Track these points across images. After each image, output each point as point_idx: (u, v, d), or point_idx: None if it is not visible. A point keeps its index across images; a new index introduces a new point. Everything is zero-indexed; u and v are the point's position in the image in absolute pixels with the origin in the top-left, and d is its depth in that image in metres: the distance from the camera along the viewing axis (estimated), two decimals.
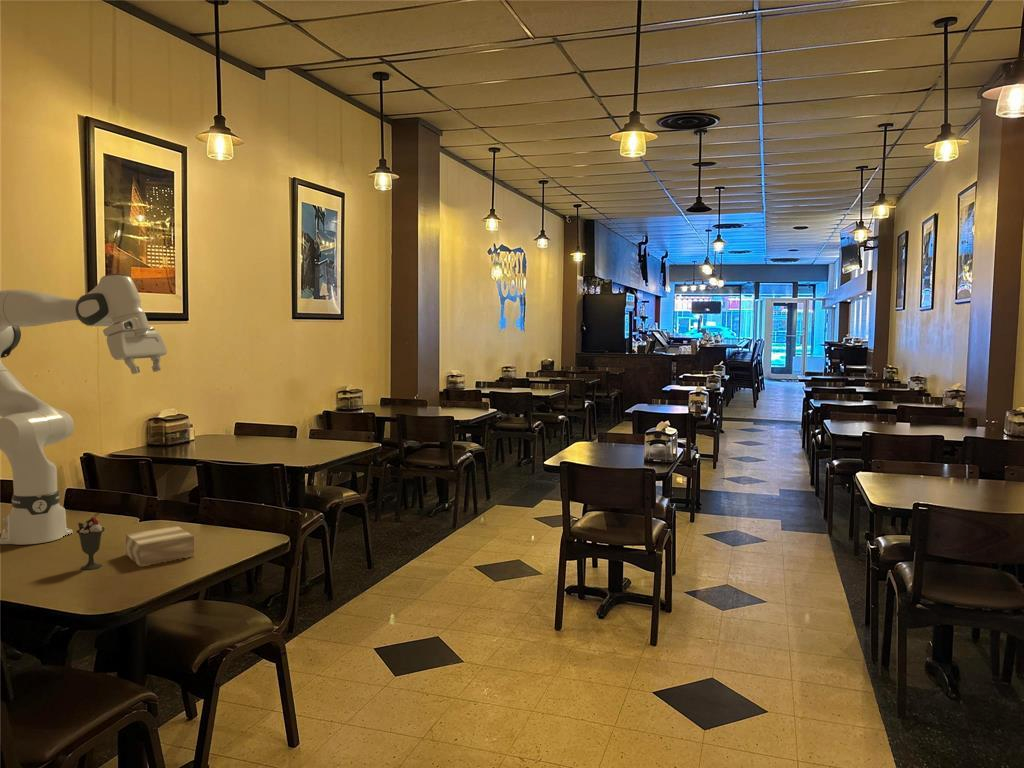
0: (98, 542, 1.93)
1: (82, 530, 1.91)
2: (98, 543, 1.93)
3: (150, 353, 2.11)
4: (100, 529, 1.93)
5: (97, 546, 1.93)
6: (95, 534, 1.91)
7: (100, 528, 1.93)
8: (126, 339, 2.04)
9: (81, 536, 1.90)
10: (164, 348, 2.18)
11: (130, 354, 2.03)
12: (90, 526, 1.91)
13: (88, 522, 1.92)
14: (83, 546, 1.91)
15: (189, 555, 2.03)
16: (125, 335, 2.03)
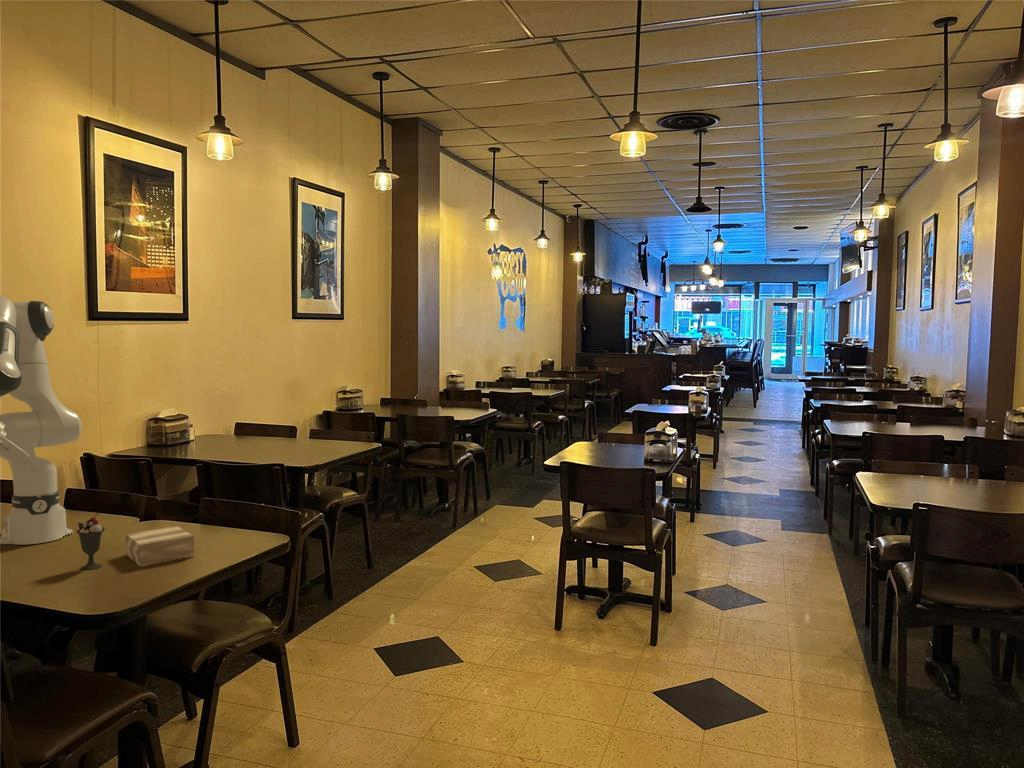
0: (98, 542, 1.93)
1: (82, 530, 1.91)
2: (98, 543, 1.93)
3: None
4: (100, 529, 1.93)
5: (97, 546, 1.93)
6: (95, 534, 1.91)
7: (100, 528, 1.93)
8: None
9: (81, 536, 1.90)
10: (11, 462, 1.74)
11: None
12: (90, 526, 1.91)
13: (88, 522, 1.92)
14: (83, 546, 1.91)
15: (189, 555, 2.03)
16: None
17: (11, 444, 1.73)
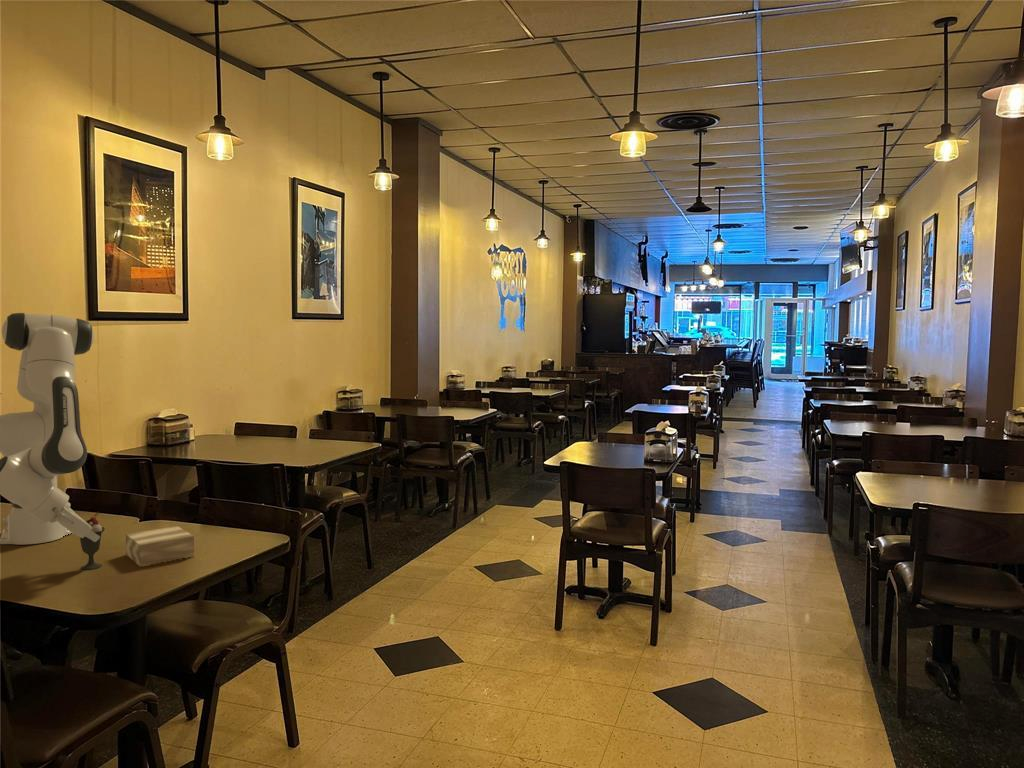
0: (98, 542, 1.93)
1: None
2: (98, 543, 1.93)
3: None
4: (100, 529, 1.93)
5: (97, 546, 1.93)
6: None
7: (100, 528, 1.93)
8: None
9: None
10: (75, 534, 1.83)
11: None
12: None
13: (88, 522, 1.92)
14: (83, 546, 1.91)
15: (189, 555, 2.03)
16: None
17: (76, 518, 1.82)
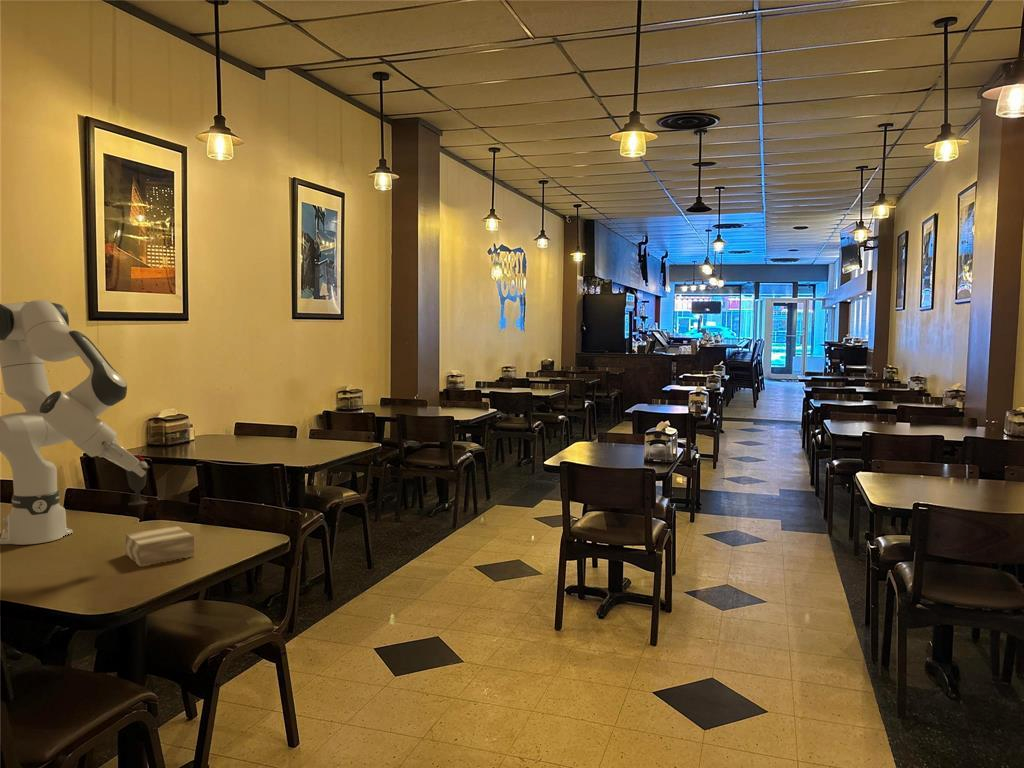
0: (144, 478, 1.98)
1: None
2: (144, 479, 1.98)
3: None
4: (146, 466, 1.99)
5: (143, 482, 1.98)
6: None
7: (146, 465, 1.99)
8: None
9: (128, 472, 1.96)
10: (124, 467, 1.89)
11: None
12: None
13: None
14: (130, 482, 1.97)
15: (189, 555, 2.03)
16: None
17: (124, 451, 1.88)
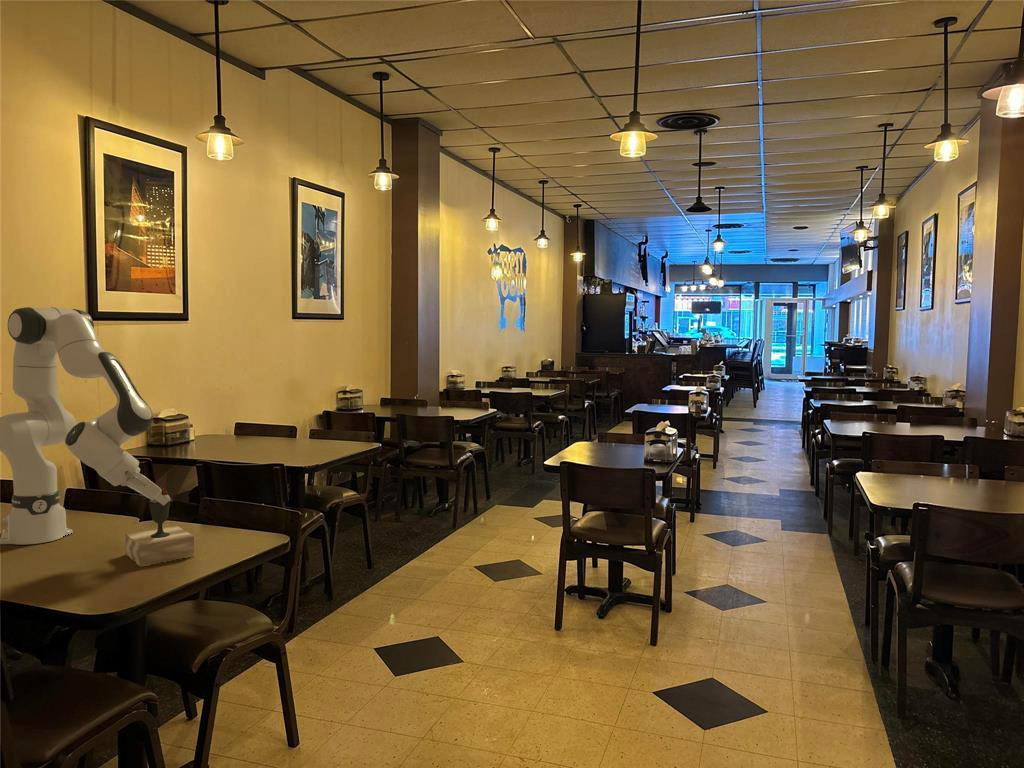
0: (167, 512, 2.02)
1: (152, 500, 2.01)
2: (167, 512, 2.03)
3: (143, 494, 1.99)
4: (169, 499, 2.02)
5: (166, 515, 2.02)
6: None
7: (169, 498, 2.02)
8: None
9: (151, 505, 2.00)
10: (147, 496, 1.93)
11: None
12: None
13: None
14: (153, 515, 2.01)
15: (189, 555, 2.03)
16: None
17: (147, 480, 1.92)
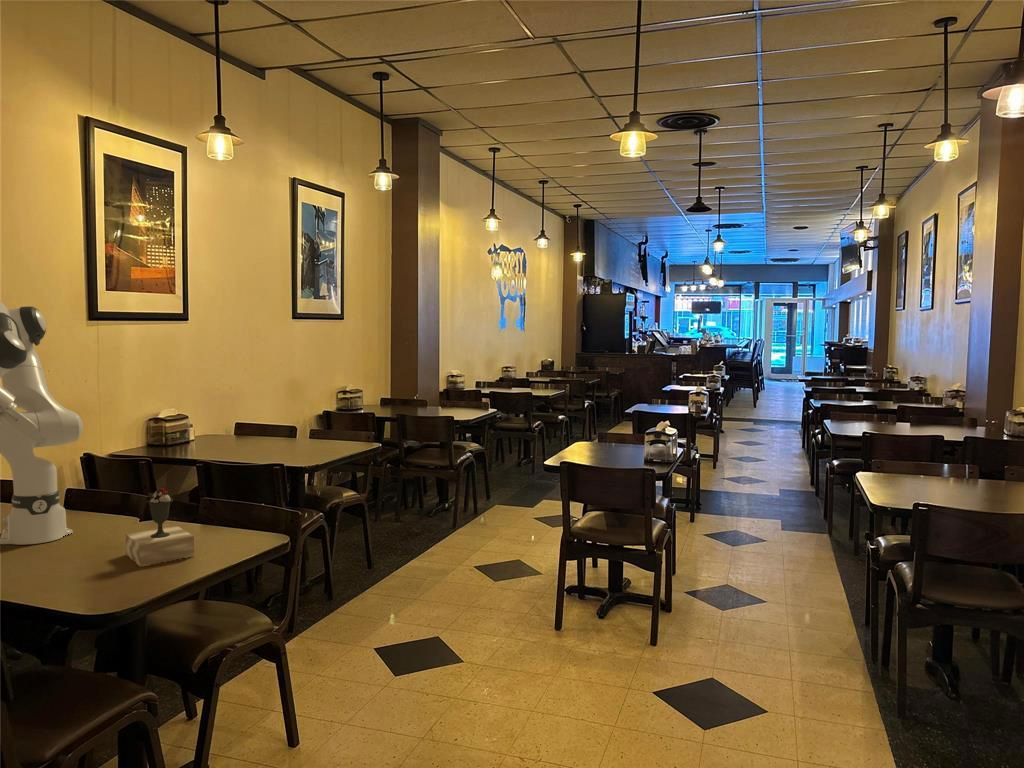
0: (167, 512, 2.02)
1: (152, 500, 2.00)
2: (167, 513, 2.02)
3: None
4: (169, 499, 2.02)
5: (166, 515, 2.02)
6: (164, 504, 2.01)
7: (169, 498, 2.02)
8: None
9: (151, 505, 2.00)
10: (20, 433, 1.80)
11: None
12: (159, 496, 2.01)
13: (158, 492, 2.02)
14: (153, 515, 2.01)
15: (189, 555, 2.03)
16: None
17: (20, 415, 1.79)
